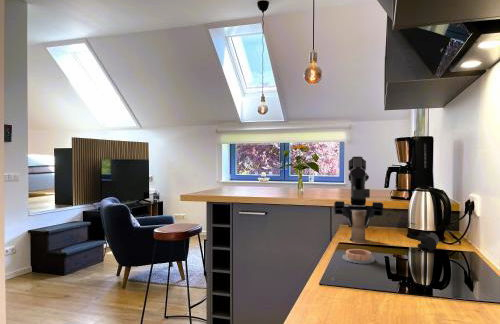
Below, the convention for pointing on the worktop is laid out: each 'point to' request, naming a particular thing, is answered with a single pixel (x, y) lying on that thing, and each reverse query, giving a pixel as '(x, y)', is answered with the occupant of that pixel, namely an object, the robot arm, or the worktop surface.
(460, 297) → the worktop surface
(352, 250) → the collar
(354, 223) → the walnut peg
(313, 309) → the worktop surface
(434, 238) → the end cap
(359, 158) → the robot arm
